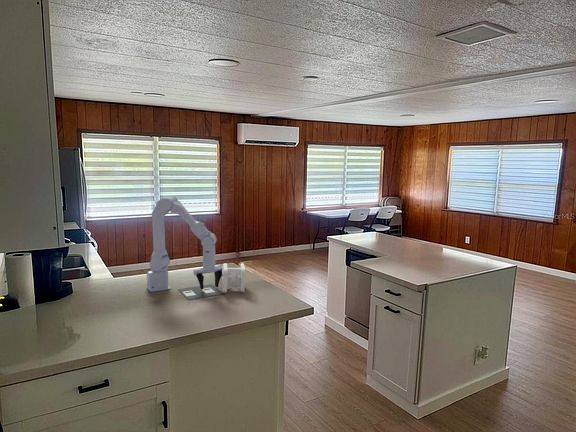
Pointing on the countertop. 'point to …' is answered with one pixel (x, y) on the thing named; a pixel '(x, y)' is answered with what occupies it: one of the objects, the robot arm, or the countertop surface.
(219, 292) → the label mat
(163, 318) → the countertop surface
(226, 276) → the cable organizer
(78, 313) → the countertop surface
